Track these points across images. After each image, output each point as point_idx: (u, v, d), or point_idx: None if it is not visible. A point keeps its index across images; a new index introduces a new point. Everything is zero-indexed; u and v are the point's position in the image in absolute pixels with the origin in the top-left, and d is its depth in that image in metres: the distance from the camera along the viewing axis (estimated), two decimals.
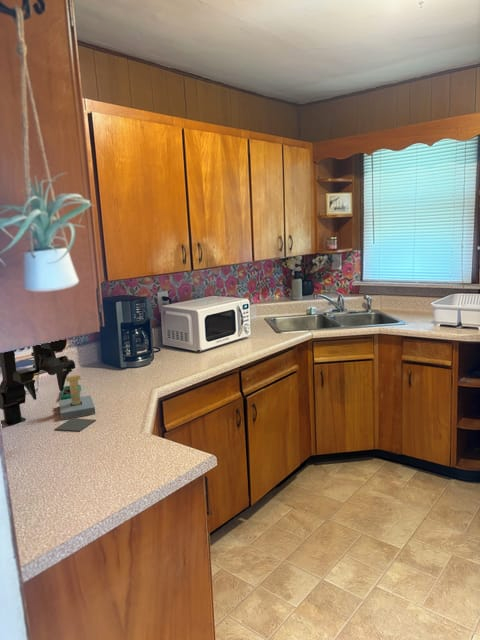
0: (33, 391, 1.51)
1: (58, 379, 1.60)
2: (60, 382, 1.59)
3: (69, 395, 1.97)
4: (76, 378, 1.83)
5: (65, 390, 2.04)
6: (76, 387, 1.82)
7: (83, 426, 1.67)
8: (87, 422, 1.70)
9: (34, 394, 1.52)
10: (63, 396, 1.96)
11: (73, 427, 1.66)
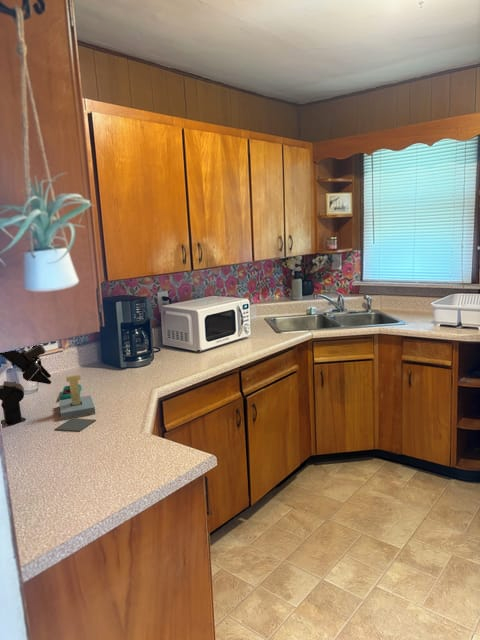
0: (45, 376, 1.74)
1: None
2: (43, 371, 1.82)
3: (68, 395, 1.97)
4: (76, 378, 1.83)
5: (65, 390, 2.04)
6: (76, 387, 1.82)
7: (83, 426, 1.67)
8: (87, 422, 1.70)
9: (47, 378, 1.74)
10: (62, 396, 1.96)
11: (73, 427, 1.66)
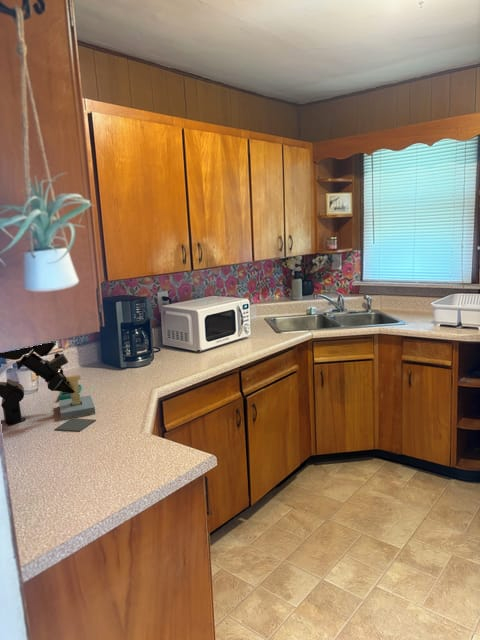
0: (69, 385, 1.77)
1: None
2: (65, 381, 1.86)
3: (67, 395, 1.97)
4: (76, 378, 1.83)
5: None
6: (76, 387, 1.82)
7: (83, 426, 1.67)
8: (87, 422, 1.70)
9: None
10: (61, 396, 1.96)
11: (73, 427, 1.66)
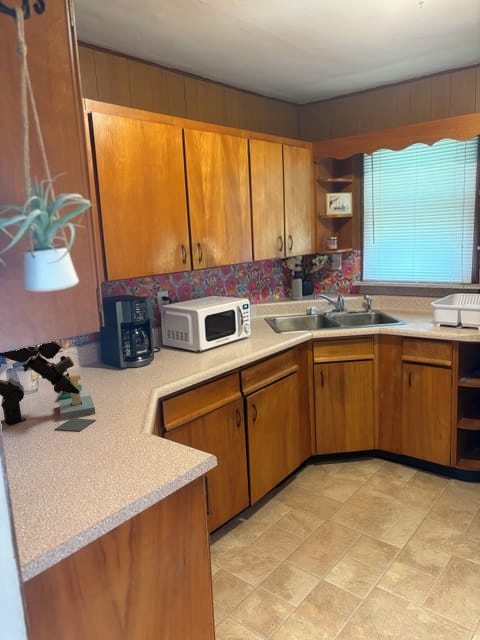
0: (74, 386, 1.81)
1: None
2: None
3: (67, 395, 1.97)
4: (76, 378, 1.83)
5: None
6: (76, 387, 1.82)
7: (83, 426, 1.67)
8: (87, 422, 1.70)
9: (76, 388, 1.82)
10: (61, 396, 1.97)
11: (73, 427, 1.66)
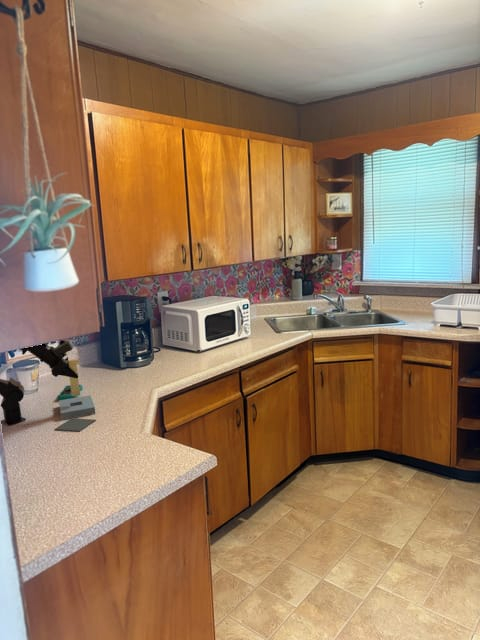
0: None
1: None
2: None
3: (65, 395, 1.97)
4: (75, 362, 1.81)
5: (65, 390, 2.04)
6: (75, 372, 1.80)
7: (83, 426, 1.67)
8: (87, 422, 1.70)
9: None
10: (60, 396, 1.97)
11: (73, 427, 1.66)
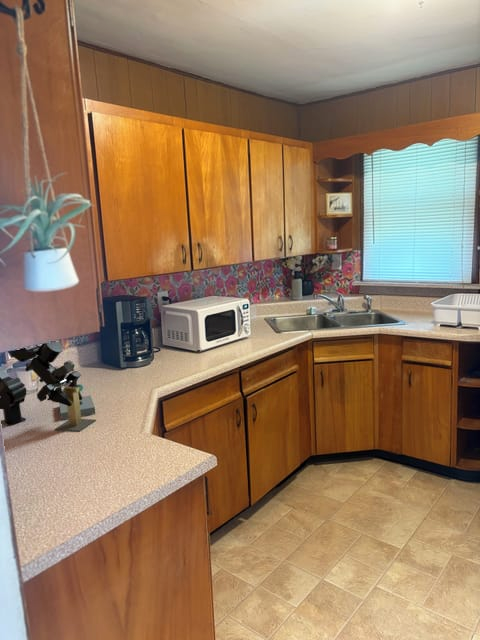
0: (65, 397, 1.64)
1: None
2: None
3: None
4: (72, 390, 1.66)
5: None
6: (71, 400, 1.66)
7: (83, 426, 1.67)
8: (87, 422, 1.70)
9: (67, 400, 1.64)
10: None
11: (73, 427, 1.66)
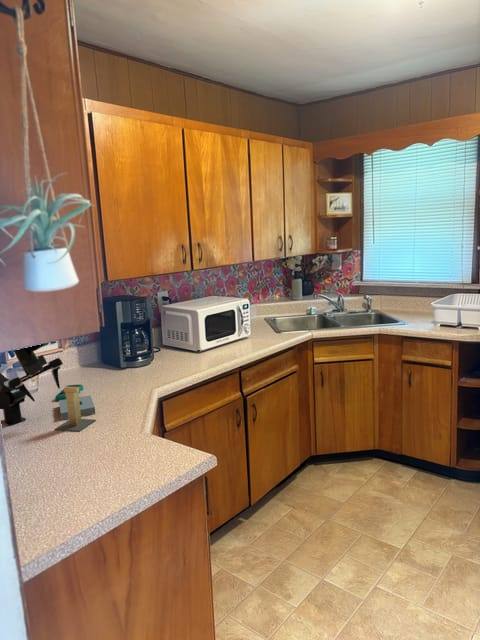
0: (28, 394, 1.67)
1: (54, 378, 1.73)
2: (55, 380, 1.72)
3: (63, 395, 1.97)
4: (72, 390, 1.66)
5: None
6: (71, 400, 1.66)
7: (83, 426, 1.67)
8: (87, 422, 1.70)
9: (30, 396, 1.67)
10: (57, 396, 1.97)
11: (73, 427, 1.66)
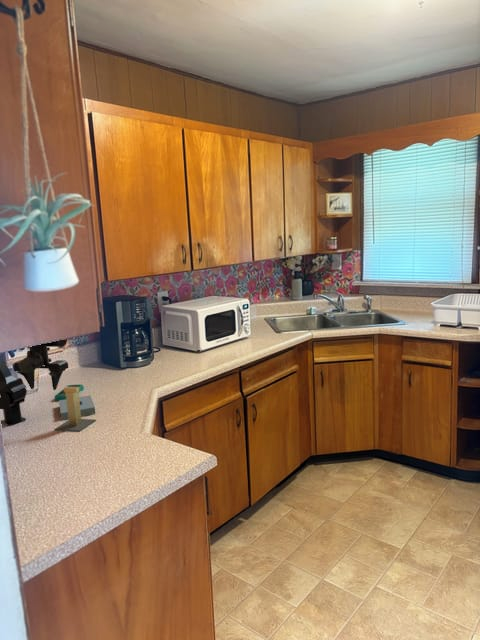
0: (27, 381, 1.70)
1: None
2: None
3: (62, 395, 1.97)
4: (72, 390, 1.66)
5: None
6: (71, 400, 1.66)
7: (83, 426, 1.67)
8: (87, 422, 1.70)
9: (29, 384, 1.70)
10: (56, 396, 1.97)
11: (73, 427, 1.66)
